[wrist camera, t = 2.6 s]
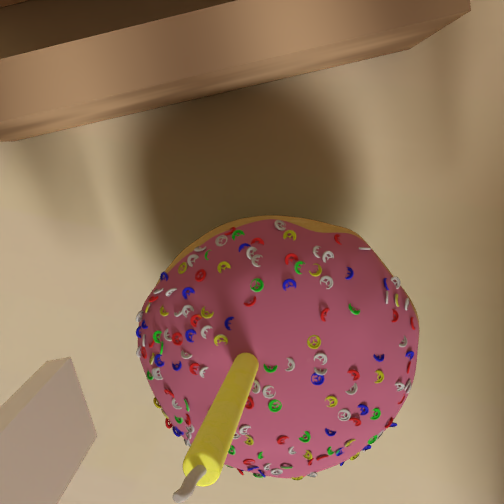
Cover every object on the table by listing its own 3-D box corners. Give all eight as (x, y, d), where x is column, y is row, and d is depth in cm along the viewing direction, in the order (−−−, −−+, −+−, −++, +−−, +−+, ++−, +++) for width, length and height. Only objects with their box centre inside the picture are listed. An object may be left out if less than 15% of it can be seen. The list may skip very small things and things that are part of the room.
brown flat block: (13, 141, 17) (-85, 141, 12) (0, 100, 17) (-107, 85, 12) (409, 49, 16) (470, 10, 11) (402, 3, 16) (464, -57, 11)
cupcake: (133, 323, 19) (-76, 615, 7) (245, 150, 17) (204, 174, 6) (301, 426, 20) (352, 829, 8) (424, 273, 18) (712, 514, 6)
